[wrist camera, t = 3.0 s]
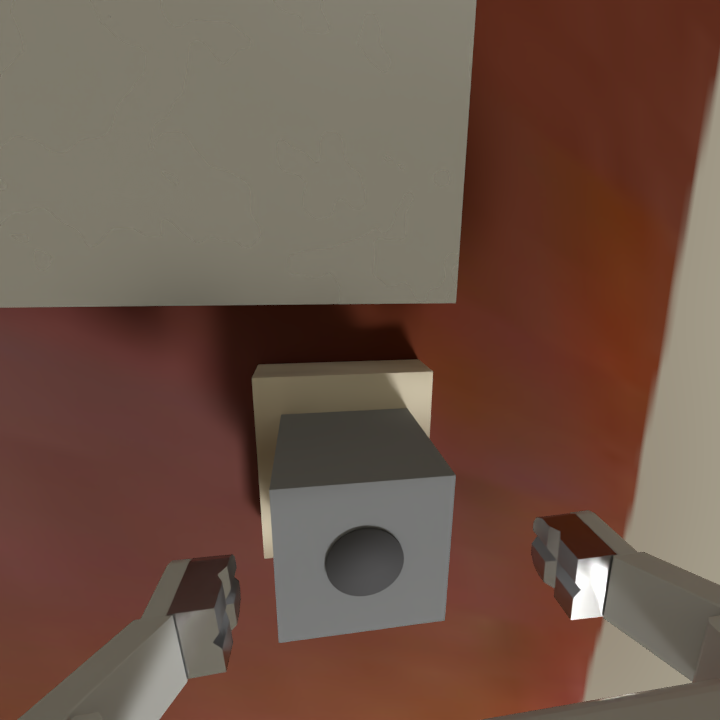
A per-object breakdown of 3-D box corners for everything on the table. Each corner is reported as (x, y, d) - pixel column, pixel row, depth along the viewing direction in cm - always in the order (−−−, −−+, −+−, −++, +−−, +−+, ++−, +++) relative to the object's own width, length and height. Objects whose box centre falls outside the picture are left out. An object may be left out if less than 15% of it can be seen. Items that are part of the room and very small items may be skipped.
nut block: (403, 515, 16) (445, 623, 11) (286, 525, 15) (278, 646, 11) (407, 408, 15) (457, 477, 10) (281, 414, 14) (269, 492, 9)
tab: (411, 513, 19) (423, 542, 17) (268, 526, 18) (264, 558, 16) (418, 359, 17) (432, 371, 15) (258, 364, 16) (251, 378, 14)
